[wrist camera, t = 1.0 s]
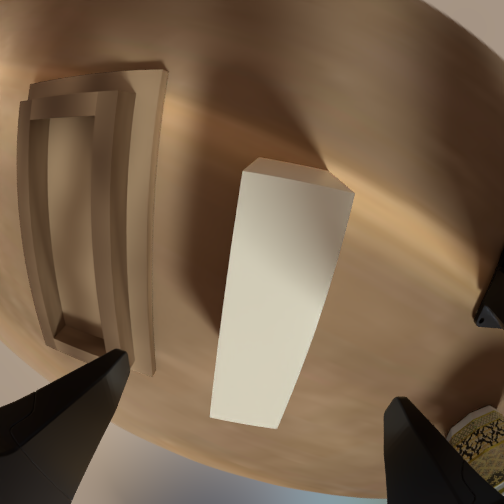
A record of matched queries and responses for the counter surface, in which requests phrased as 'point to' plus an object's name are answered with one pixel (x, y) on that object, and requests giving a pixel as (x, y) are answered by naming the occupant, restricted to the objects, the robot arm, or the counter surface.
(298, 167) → the white rectangular block
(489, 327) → the robot arm
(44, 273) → the rack
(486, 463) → the ceramic cup
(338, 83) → the counter surface
